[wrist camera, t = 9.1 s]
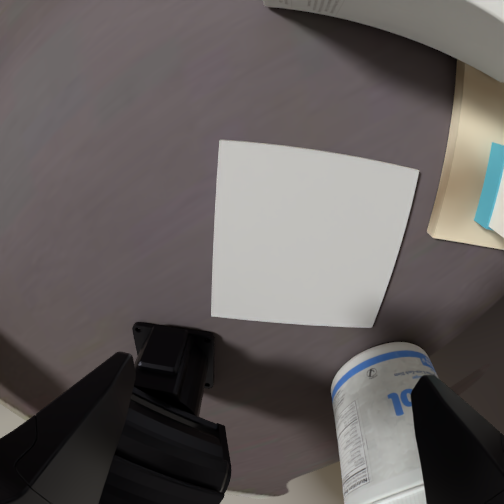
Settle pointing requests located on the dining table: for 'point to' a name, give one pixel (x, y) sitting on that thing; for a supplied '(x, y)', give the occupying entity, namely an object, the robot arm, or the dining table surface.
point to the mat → (305, 234)
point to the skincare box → (427, 24)
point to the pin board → (468, 158)
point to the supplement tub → (379, 424)
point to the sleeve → (493, 193)
